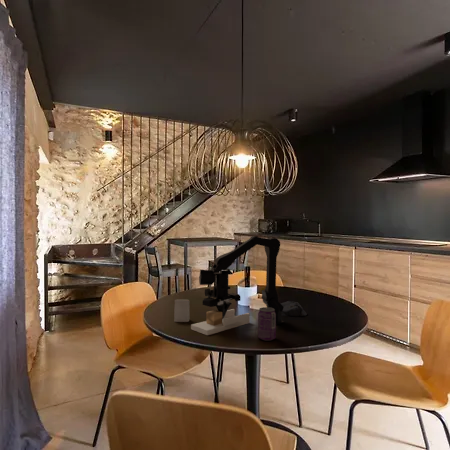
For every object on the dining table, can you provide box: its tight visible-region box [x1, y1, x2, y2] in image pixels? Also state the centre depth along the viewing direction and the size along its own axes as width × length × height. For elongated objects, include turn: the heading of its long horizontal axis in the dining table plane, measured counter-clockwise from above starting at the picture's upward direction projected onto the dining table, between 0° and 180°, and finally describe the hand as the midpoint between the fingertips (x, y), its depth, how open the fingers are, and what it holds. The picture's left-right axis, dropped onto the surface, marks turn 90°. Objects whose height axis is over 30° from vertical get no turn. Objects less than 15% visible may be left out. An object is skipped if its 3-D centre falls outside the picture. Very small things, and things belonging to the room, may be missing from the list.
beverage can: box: [257, 306, 277, 342], centre depth 138 cm, size 7×7×12 cm
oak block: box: [205, 309, 222, 326], centre depth 152 cm, size 5×5×5 cm
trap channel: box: [190, 308, 251, 336], centre depth 155 cm, size 11×26×4 cm, turn 133°
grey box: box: [173, 299, 190, 323], centre depth 163 cm, size 4×7×10 cm, turn 90°
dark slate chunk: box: [279, 300, 308, 317], centre depth 182 cm, size 15×22×5 cm
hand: (222, 318), depth 155 cm, fingers closed
